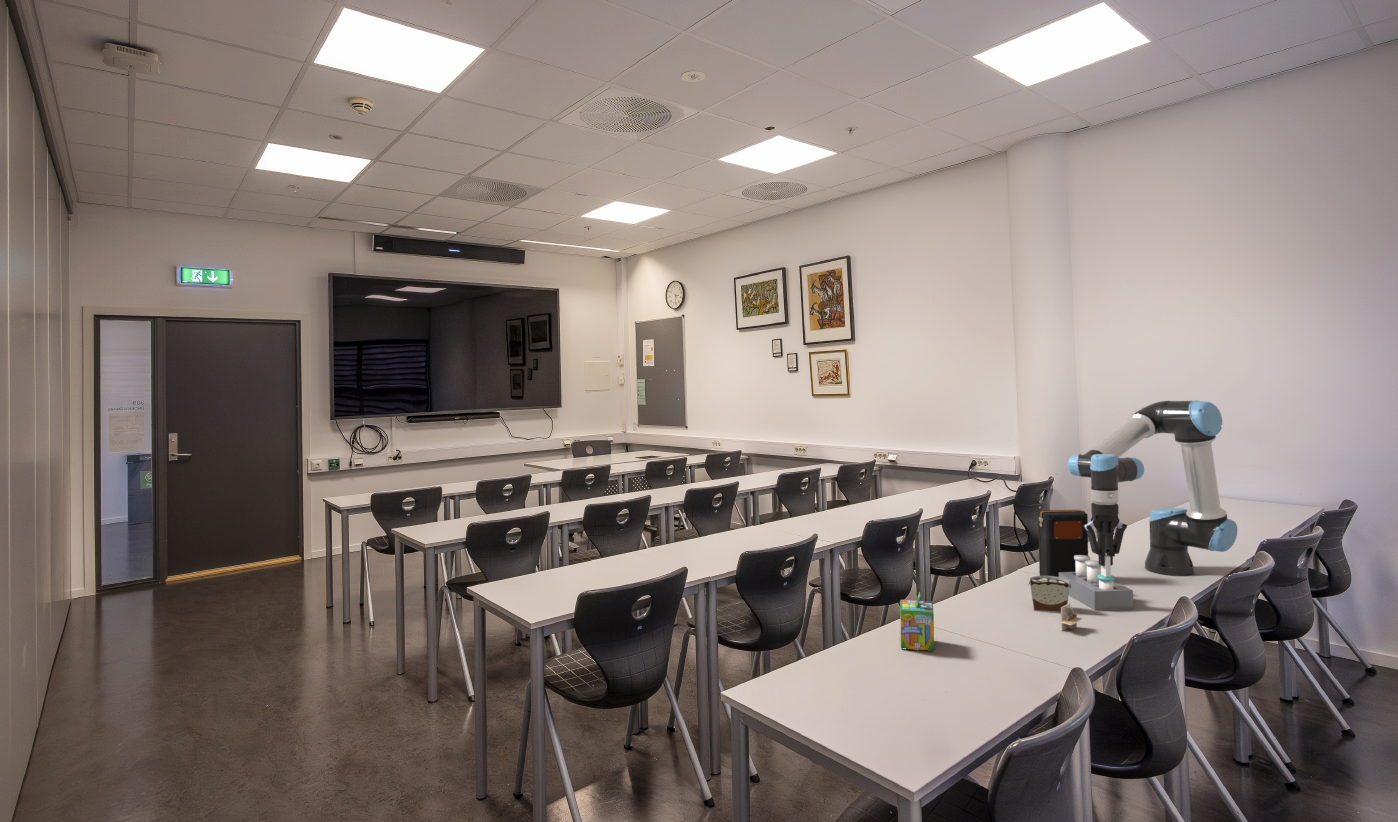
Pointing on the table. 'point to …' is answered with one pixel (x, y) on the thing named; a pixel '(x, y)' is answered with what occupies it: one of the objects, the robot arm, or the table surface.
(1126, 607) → the panel
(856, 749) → the table surface
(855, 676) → the table surface
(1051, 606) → the food container
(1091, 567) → the grey plug middle
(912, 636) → the chalk box
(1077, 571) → the grey plug end
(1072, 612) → the architectural model
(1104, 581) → the teal plug
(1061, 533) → the voltmeter
